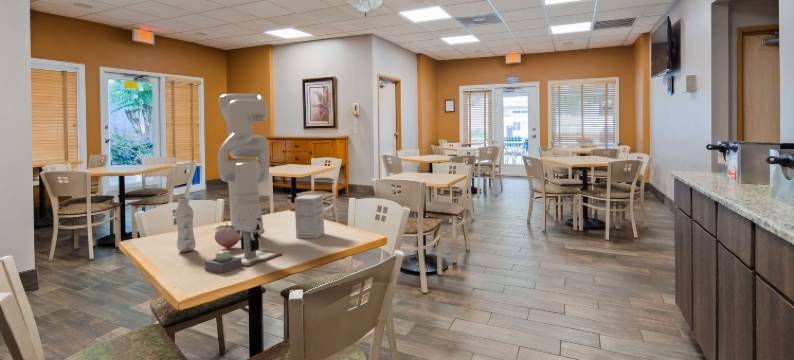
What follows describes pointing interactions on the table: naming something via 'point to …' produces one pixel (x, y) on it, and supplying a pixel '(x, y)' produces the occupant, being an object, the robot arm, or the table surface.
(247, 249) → the marker
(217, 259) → the button
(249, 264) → the clipboard
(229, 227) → the decorative fruit
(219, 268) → the button housing
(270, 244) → the table surface
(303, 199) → the supplement box
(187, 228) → the plastic bottle
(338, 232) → the table surface
